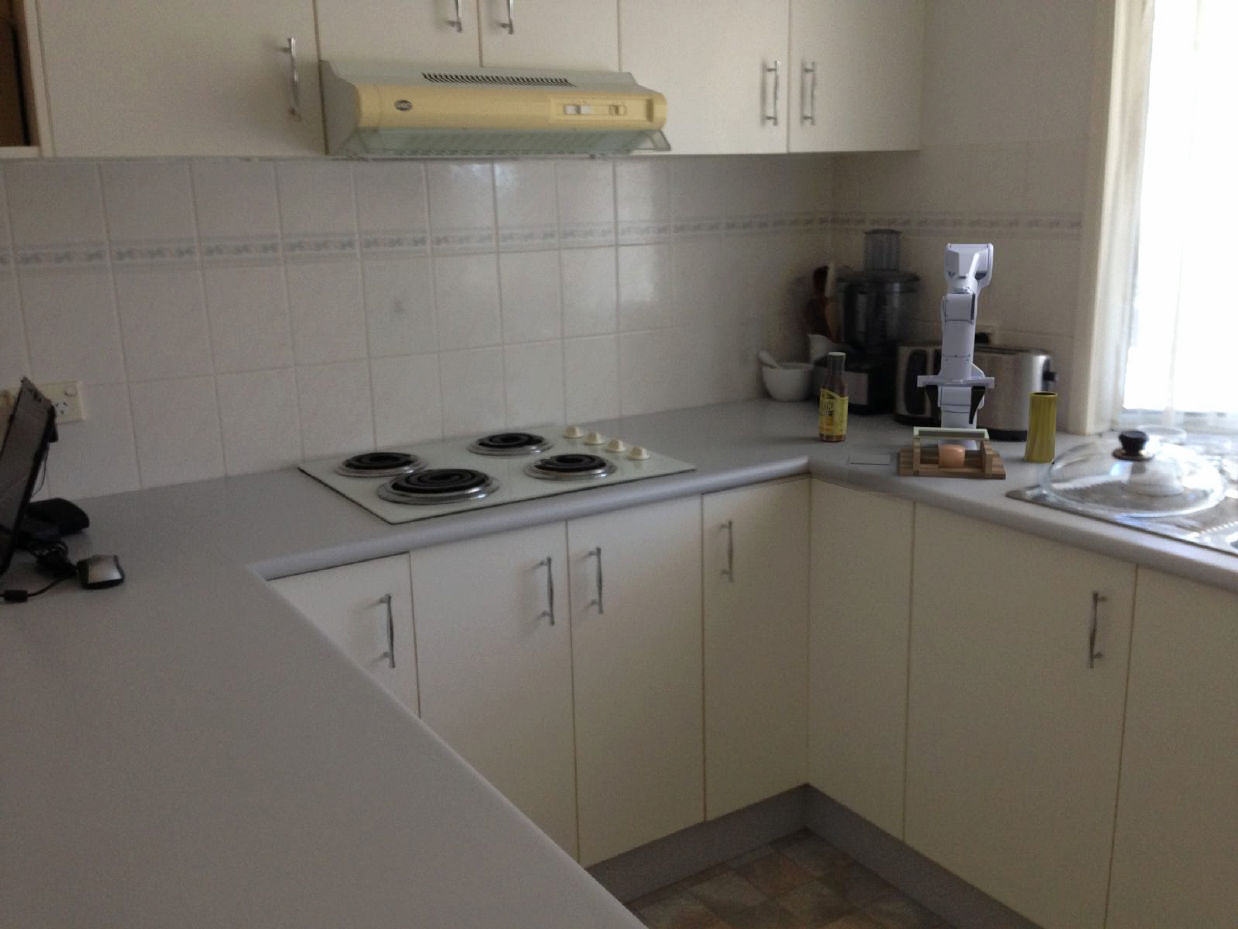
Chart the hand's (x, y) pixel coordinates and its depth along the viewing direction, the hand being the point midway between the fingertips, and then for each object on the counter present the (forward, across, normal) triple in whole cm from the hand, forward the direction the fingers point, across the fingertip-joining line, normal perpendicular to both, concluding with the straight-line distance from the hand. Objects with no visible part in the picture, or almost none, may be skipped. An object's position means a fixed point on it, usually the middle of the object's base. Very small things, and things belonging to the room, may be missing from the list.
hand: (953, 422), depth 229 cm
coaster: (+10, -16, +6) cm, 20 cm away
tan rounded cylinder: (+10, 0, 0) cm, 10 cm away
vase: (+10, +18, +12) cm, 24 cm away
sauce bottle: (+10, -25, +26) cm, 37 cm away
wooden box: (+10, 0, +4) cm, 11 cm away
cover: (+5, 0, +10) cm, 11 cm away
